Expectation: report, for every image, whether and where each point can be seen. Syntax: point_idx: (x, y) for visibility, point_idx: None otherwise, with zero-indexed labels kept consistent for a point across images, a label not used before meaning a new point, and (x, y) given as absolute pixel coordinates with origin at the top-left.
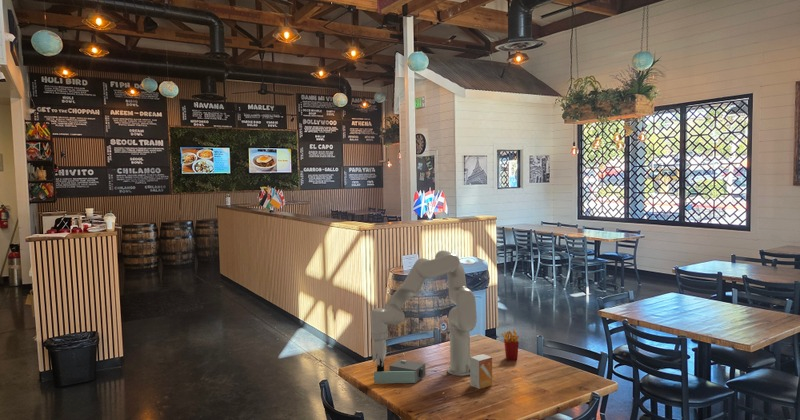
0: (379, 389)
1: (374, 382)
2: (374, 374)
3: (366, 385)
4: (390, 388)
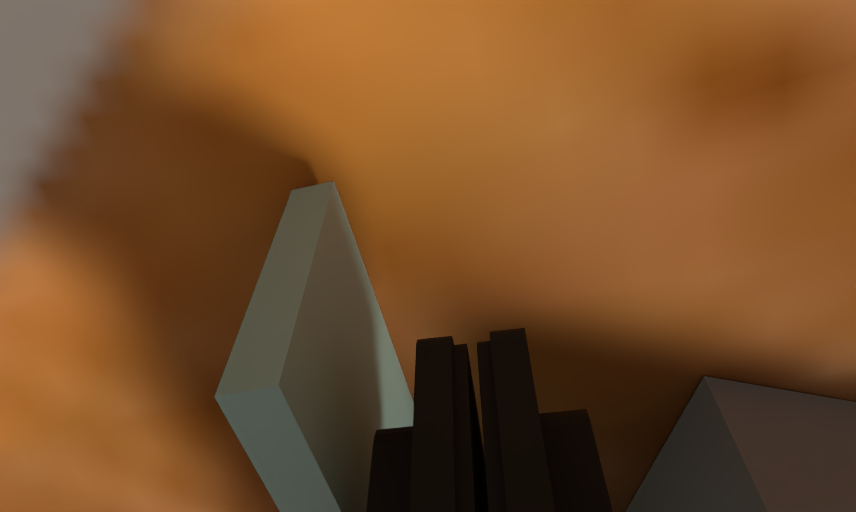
0: (71, 356)
1: (288, 204)
2: (240, 348)
3: (130, 15)
4: (206, 489)
